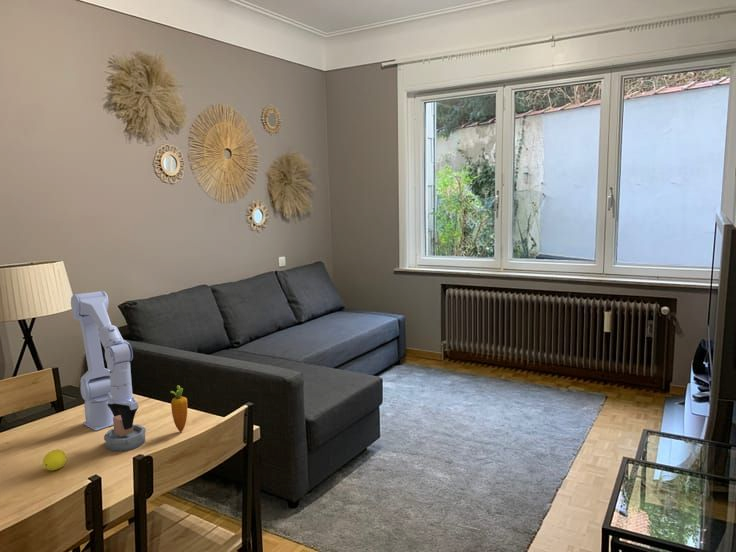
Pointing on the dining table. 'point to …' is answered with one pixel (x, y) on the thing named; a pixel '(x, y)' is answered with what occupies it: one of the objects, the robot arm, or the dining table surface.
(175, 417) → the carrot
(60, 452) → the lemon
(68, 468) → the dining table surface
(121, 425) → the block
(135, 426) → the grey ashtray
